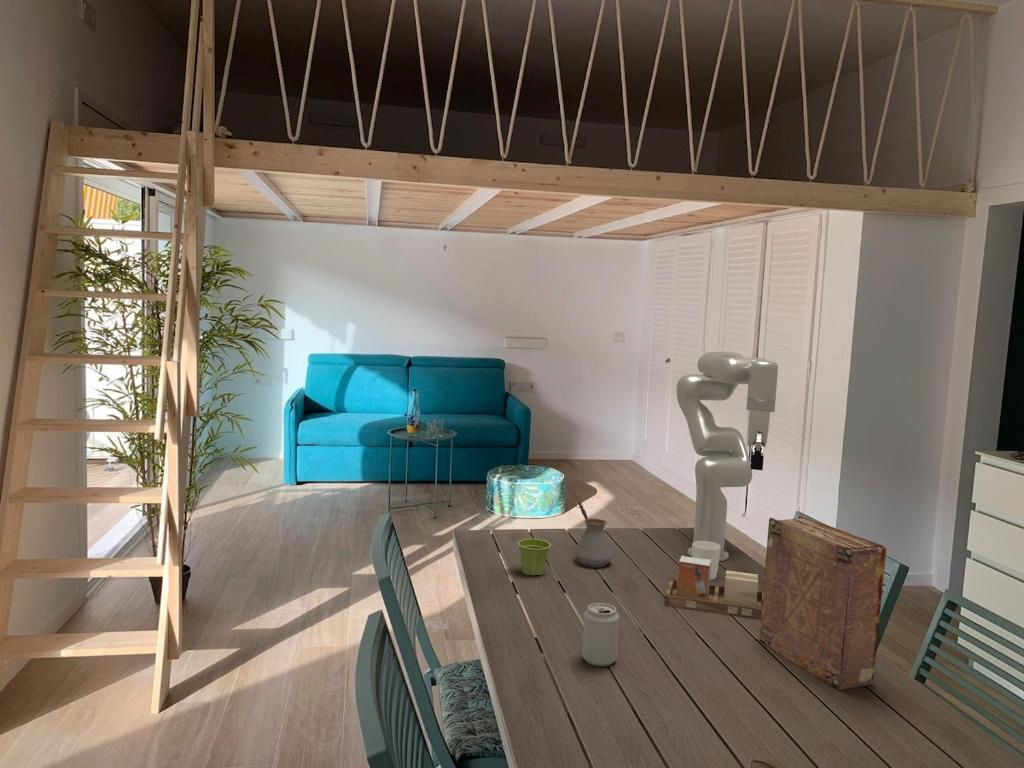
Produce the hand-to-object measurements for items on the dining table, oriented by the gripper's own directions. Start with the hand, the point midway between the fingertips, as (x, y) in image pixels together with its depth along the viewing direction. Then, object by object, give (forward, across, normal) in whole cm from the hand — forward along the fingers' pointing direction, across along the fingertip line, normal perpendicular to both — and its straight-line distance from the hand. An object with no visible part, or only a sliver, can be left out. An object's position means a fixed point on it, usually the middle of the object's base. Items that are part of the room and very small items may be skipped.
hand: (756, 466), depth 223 cm
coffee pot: (+34, -6, -47) cm, 59 cm away
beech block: (+33, +20, -2) cm, 39 cm away
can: (+34, +63, -31) cm, 78 cm away
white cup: (+34, -1, -12) cm, 37 cm away
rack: (+34, +20, -8) cm, 41 cm away
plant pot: (+34, +14, -59) cm, 70 cm away
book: (+34, +46, +14) cm, 59 cm away
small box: (+34, +20, -14) cm, 41 cm away
